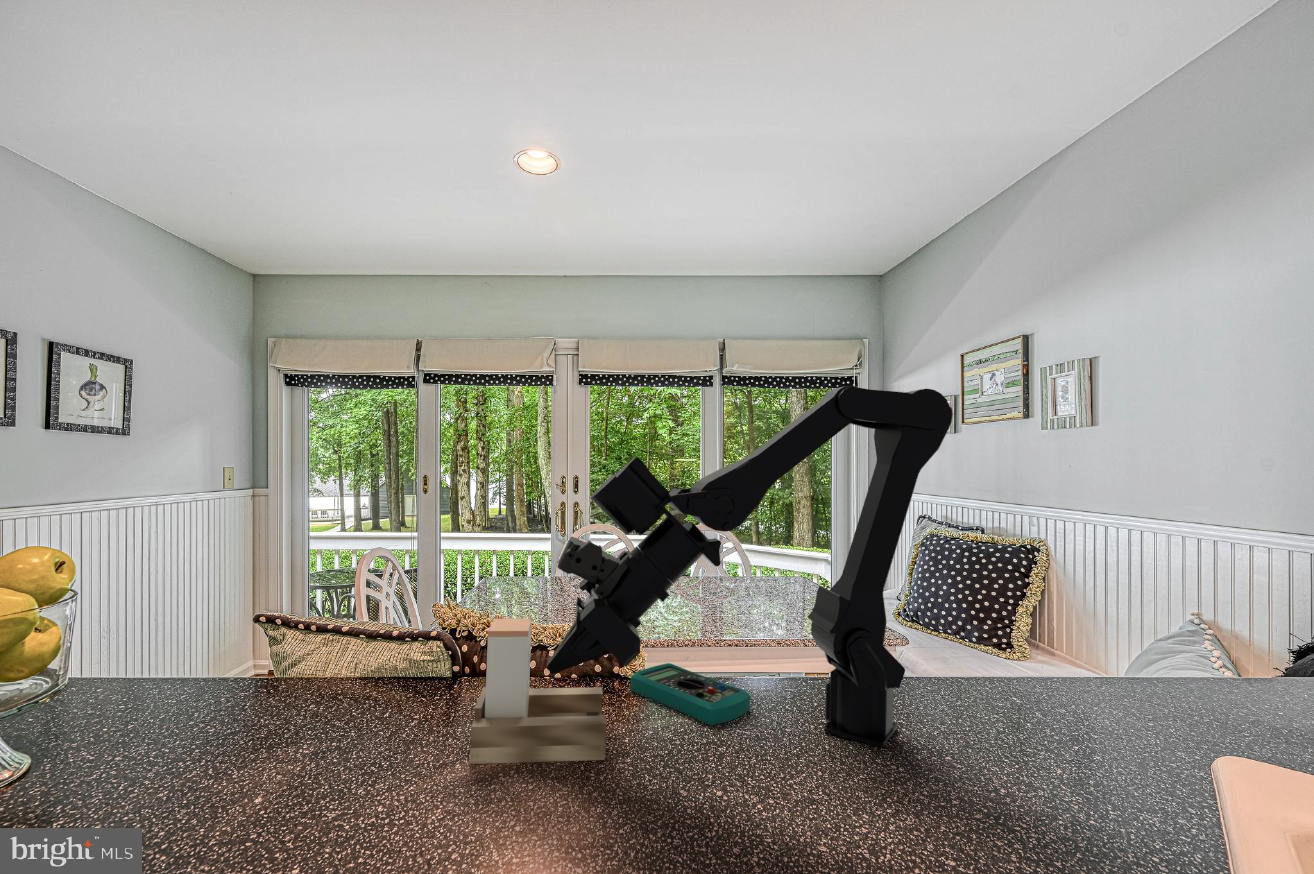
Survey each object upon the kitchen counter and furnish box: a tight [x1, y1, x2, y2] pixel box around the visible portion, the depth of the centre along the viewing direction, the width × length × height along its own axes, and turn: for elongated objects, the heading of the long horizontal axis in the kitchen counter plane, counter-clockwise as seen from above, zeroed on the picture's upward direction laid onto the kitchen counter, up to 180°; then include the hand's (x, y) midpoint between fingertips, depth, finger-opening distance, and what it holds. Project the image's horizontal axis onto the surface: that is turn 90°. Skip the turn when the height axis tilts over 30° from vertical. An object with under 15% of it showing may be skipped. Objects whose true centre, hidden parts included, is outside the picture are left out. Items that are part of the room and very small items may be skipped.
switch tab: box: [485, 617, 533, 718], centre depth 66 cm, size 4×5×10 cm
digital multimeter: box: [630, 662, 751, 726], centre depth 79 cm, size 7×15×3 cm, turn 44°
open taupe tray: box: [469, 686, 607, 765], centre depth 67 cm, size 13×10×4 cm
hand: (549, 670), depth 67 cm, fingers closed
